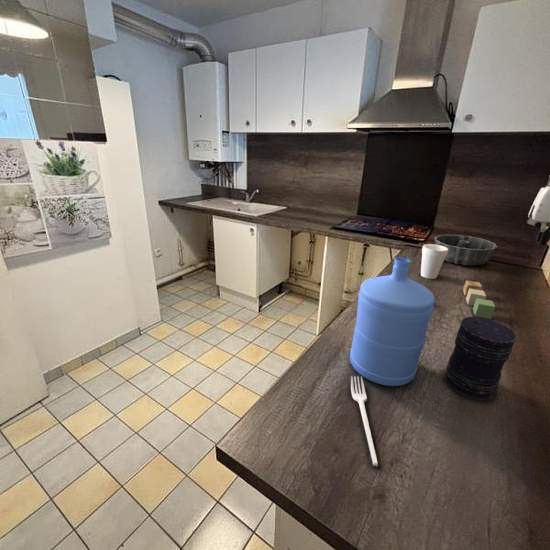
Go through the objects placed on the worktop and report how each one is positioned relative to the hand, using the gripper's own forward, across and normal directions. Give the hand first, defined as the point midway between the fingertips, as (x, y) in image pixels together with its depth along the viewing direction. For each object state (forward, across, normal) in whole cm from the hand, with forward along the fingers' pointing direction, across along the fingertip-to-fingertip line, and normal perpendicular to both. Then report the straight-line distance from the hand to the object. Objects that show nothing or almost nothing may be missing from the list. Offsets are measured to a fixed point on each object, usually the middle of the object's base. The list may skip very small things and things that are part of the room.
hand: (540, 243), depth 93 cm
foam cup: (+23, +27, -18) cm, 40 cm away
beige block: (+23, +13, +3) cm, 27 cm away
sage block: (+23, +12, +11) cm, 28 cm away
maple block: (+23, +13, -5) cm, 27 cm away
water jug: (+23, +40, +52) cm, 70 cm away
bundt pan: (+23, +12, -48) cm, 55 cm away
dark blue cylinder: (+23, +21, +50) cm, 59 cm away
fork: (+24, +42, +70) cm, 85 cm away
